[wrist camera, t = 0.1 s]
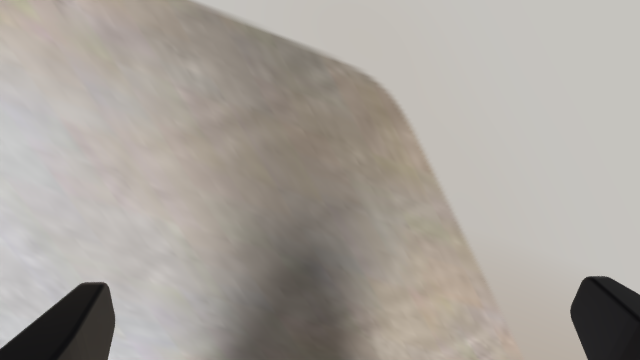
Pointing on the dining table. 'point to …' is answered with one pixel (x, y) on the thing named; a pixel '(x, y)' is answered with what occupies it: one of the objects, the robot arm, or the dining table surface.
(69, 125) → the dining table surface
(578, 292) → the robot arm
